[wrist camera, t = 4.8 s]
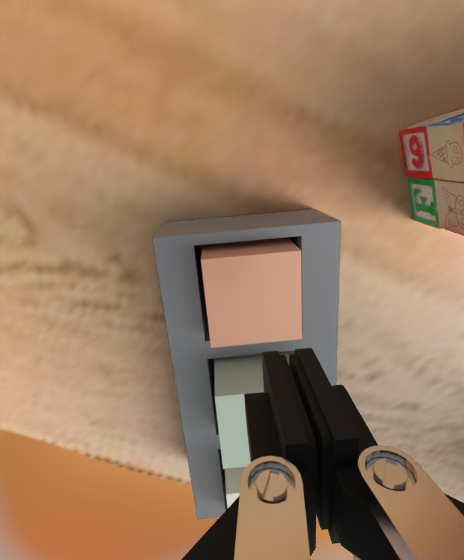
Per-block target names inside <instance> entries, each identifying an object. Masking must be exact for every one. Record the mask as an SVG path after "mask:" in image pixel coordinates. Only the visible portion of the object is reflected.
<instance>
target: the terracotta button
mask: <svg viewBox="0 0 464 560" xmlns="http://www.w3.org/2000/svg"><path fill="white" fill-rule="evenodd" d="M201 264H202V273H203V282H204V291H205V299H206V308H207V317H208V326H209V335H210V343H211V348H215V347H225V346H235V345H246V344H256V343H266V342H277V341H287V340H297V339H302V286H301V250H300V249H299V248H298V247H297V246H296V245H295V244H294V243H293V242H292V241H291V240H290V239H289V238H288V237H284V238H273V239H262V240H251V241H240V242H229V243H217V244H206V245H203V247H202V255H201Z"/></svg>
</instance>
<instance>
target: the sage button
mask: <svg viewBox="0 0 464 560" xmlns="http://www.w3.org/2000/svg"><path fill="white" fill-rule="evenodd" d="M279 354H280V355H284V354H285V356H286V358H287V361H288V364H289V354H294V351H285V352H279ZM214 376H215V404H216V412H217V421H218V430H219V438H220V447H221V456H222V464H223V469H227V468H236V467H246V466H248V465H249V464H250V463H251V461H250V452H249V443H248V434H247V424H246V413H245V400H244V394H248V393H259V392H264V385H263V367H262V354H254V355H244V356H234V357H223V358H214Z"/></svg>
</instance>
